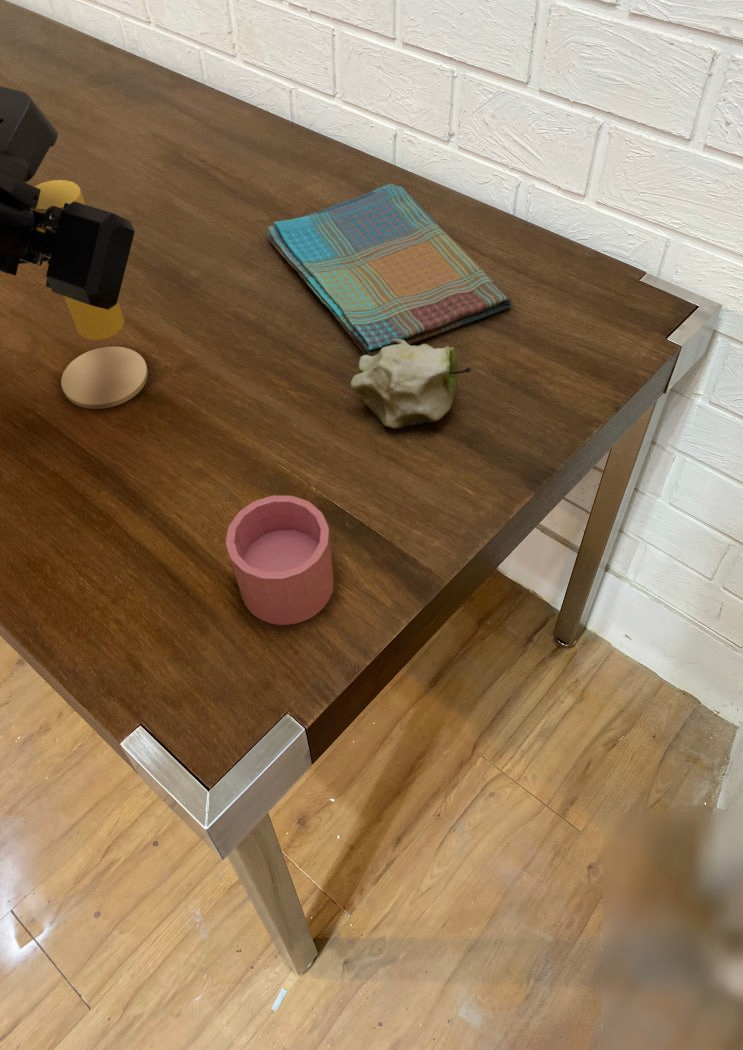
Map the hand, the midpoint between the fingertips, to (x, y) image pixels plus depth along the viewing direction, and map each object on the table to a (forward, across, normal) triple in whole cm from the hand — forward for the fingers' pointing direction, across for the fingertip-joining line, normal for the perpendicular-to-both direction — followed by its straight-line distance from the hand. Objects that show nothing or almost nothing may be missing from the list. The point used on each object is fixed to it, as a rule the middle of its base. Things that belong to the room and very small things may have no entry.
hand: (90, 258), depth 63 cm
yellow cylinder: (+3, 0, +5) cm, 6 cm away
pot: (0, -25, +19) cm, 31 cm away
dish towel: (+27, -14, -8) cm, 32 cm away
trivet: (+9, +3, +10) cm, 14 cm away
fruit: (+16, -25, +3) cm, 29 cm away
